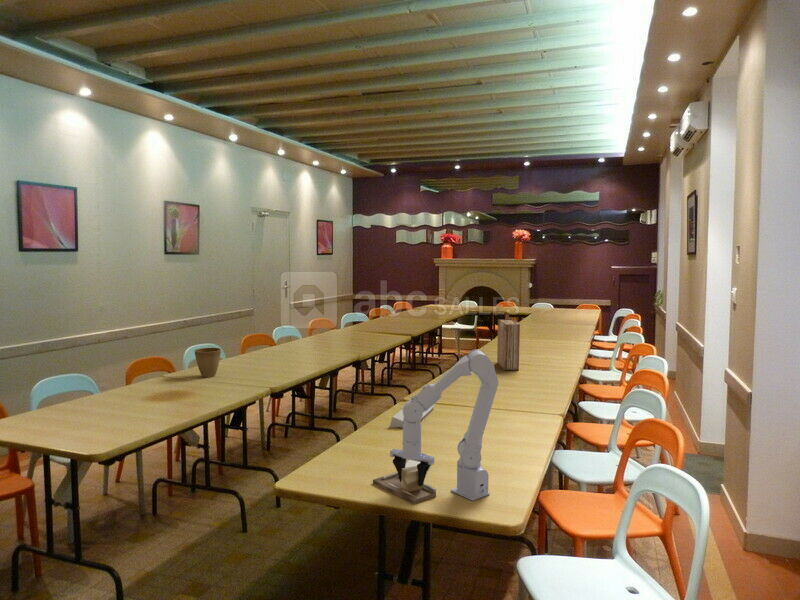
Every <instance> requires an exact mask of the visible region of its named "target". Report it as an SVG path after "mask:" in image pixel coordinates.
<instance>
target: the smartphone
mask: <svg viewBox="0 0 800 600" xmlns="http://www.w3.org/2000/svg"><path fill="white" fill-rule="evenodd" d="M419 463H420V462H418V461H413V460H408V459H406V465H405V468H407V467H412V466H417V465H418V464H419ZM430 466H431V467H432V465H430ZM431 467H429V469H430V468H431Z"/></svg>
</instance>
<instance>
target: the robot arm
mask: <svg viewBox="0 0 800 600" xmlns="http://www.w3.org/2000/svg"><path fill="white" fill-rule="evenodd" d="M472 373H473V374H474V375H476V376H477V377H478V379H479V381H480V382H481V383H480V386H479V391H478V393H477V396H476V400H475V404H474V406H473V409H472V414H471V417H470V420H469V423H468V426H467V430H466V432H465V433H464V435H463V438H462V439H461V440H460V441H459V442H458V444H457V453H458V455H459V457H458V458H459V459H458V460H457V462H456V463H457V464H456V466H457V467H456V487H454V488H451V489H450V491H451V492H452V493H455V494H457V495H459V496H461V497H464V498H466V499H467V500H470V501H473V502H474V501H476V500H478V499H481V498H484V497H486V496H489V495H491V493H490V492H489V473H488V471H487V470H486V469H485V468H484V467H482V463H481V461H482V454H481V452H482V451H481V450H482V448H483V435H484V432H485V430H486V427H487V423H488V419H489V416H490V413H491V410H492V407H493V403H494V400H495V397H496V393H497V390H498V387H499V379H498V376H497V373H496V369H495V364H494V363H493V362H492V360H491V359H490V357H488V356H487V354H486V353H485V351H483V350H480V349H477V348H476V349H472V350H471V351H469V352H468V354H465V355H463V357H461V358H460V359H459V360H458V361H457V362H456V363H455V364H454V365H453V366H452V367H451V368H450V369H449V370H448V371H447V372H445V373H444V374H443V375H442V376H441V377H440V378H439V379H438V380H437V381H436V382H435V383H428V384H427V385H425V384H424V385H422V386H421V390H420V391H419V392H418V393H416V394H415V396H411V397H410V399H409V400H407V401H406V402H404V404H403V406H402V408H401V410H403V416H404V419H403V423H404V424H403V427H402V449H396V448H392V449H390V451H389V457H391V458H393V457H394V458H393V459H392V464H393V465H394V467H395V469H396V473H398V476H399V480H400V482H401V469H402V468H405V465H406V462H407V460H413V461H418V462H420V463H419V464H418V465H417V469H418V485H419V486H422V485H423V484H424V483H425V478H426V476H427V473H428V471H429V470H430V468H431V467H430V465H431V466H432V465H434V464H435V456H431V455H428V454H426V453H423V452H422V423H421V422H422V420H421V418H422V415H423V412H426V411H427V410H428V409H429V408H430V407H432V406H433V405H435V404H436V403H437V402H438V401H439V400H441V398H442V393H443V392H444V391H445V390H446V389H447V388H449V387H450V386H451V385H453V384H454V383H455V382H456V381H457V380H459V379H460V378H461V377H467V376H468V377H469V376H472V375H473V374H472ZM429 467H430V468H429Z"/></svg>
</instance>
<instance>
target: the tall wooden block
mask: <svg viewBox="0 0 800 600" xmlns="http://www.w3.org/2000/svg"><path fill="white" fill-rule="evenodd" d="M520 333H521V324H520V323H519V322H518V321H516V320H515V319H512V318H497V352H496V353H497V354H496V355H497V358H496V359H497V360H496V362H497V364H498V365H499V367H500V368H502V369H503V371H507V370H509V371H510V370H511V371H513V370H514V371H516V370H517V371H519V370H520V341H521V340H520V335H521V334H520Z"/></svg>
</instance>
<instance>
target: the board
mask: <svg viewBox="0 0 800 600" xmlns="http://www.w3.org/2000/svg"><path fill="white" fill-rule="evenodd" d="M372 484H374V485H375V484H376V485H375V486H377V485H378V487H379V488H382V490H383V489H384V490H385V491H387V492H389V493H391V494H392V495H395V496H397V497H399V498H400V499H403V500H405V501H406V502H408V503H411V505H415V504H418V503H422V502H424V501H427V500H430V499H432V498H435V497H437V488H435V487H433V486H431V485H430V484H427V483H425V482H424V484H423V485H422V489H419V490H415V491H410V492H407V491H406V490H404V489H403V488H402V487H401V482H400V480H399V476H398V472H397V471H396V472H392V473H389V474H386V475H382V476H381V477H377V478H373V479H372Z"/></svg>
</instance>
